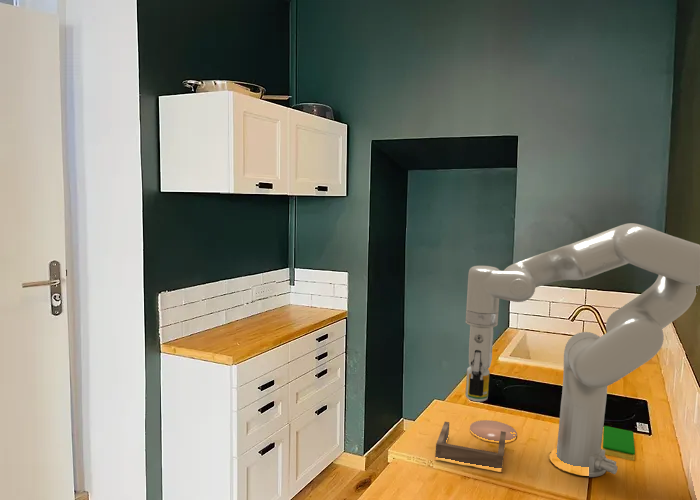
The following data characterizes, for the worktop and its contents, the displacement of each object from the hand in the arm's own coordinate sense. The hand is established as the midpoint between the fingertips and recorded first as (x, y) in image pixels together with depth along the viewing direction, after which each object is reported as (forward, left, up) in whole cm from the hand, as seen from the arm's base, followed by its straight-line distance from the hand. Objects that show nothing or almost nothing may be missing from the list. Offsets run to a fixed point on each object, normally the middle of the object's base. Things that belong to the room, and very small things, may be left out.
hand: (477, 389), depth 137 cm
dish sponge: (-22, -32, -16) cm, 42 cm away
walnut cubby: (-1, +2, -15) cm, 15 cm away
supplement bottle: (0, 0, -2) cm, 2 cm away
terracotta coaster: (+2, -12, -15) cm, 19 cm away
